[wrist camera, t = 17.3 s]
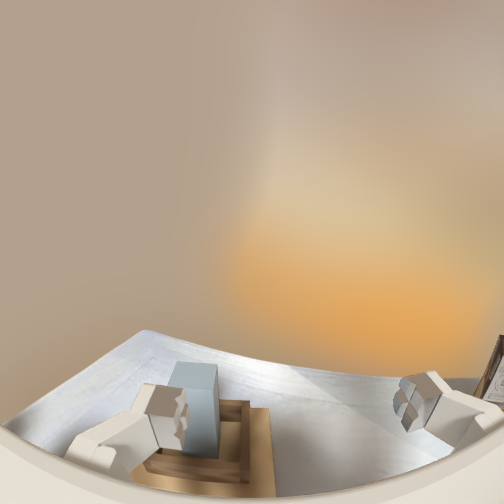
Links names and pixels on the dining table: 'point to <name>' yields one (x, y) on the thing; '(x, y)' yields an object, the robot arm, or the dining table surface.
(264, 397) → the dining table surface
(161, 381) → the dining table surface
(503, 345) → the coffee box
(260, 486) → the caddy
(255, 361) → the dining table surface
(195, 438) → the grey block
